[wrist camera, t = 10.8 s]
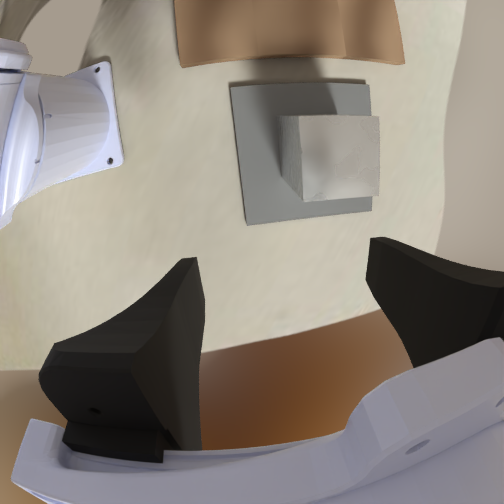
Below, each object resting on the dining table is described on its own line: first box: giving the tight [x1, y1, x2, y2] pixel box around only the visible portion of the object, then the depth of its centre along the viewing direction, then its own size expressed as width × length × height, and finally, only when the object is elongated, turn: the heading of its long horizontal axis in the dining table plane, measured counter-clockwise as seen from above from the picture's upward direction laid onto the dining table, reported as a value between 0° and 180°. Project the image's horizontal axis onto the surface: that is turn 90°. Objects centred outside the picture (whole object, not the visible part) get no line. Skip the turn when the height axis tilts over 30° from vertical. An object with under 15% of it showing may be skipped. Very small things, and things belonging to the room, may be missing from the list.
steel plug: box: [277, 114, 380, 202], centre depth 16 cm, size 4×4×6 cm
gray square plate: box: [230, 83, 372, 226], centre depth 19 cm, size 10×10×1 cm
